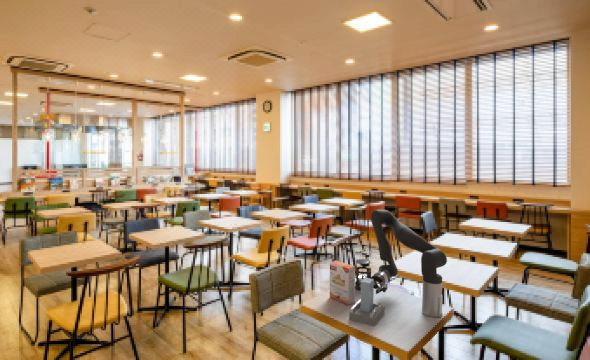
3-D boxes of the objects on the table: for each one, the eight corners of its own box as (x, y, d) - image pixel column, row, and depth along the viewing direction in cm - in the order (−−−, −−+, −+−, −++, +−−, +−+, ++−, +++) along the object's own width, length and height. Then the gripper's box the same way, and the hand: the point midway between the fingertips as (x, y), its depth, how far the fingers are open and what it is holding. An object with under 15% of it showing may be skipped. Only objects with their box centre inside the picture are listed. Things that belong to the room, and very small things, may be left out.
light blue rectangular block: (373, 307, 179) (373, 279, 177) (369, 312, 173) (369, 283, 172) (364, 305, 181) (365, 277, 179) (360, 310, 176) (360, 281, 174)
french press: (361, 292, 206) (362, 255, 204) (350, 287, 214) (350, 251, 212) (375, 288, 213) (376, 251, 210) (364, 283, 220) (364, 247, 218)
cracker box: (329, 297, 200) (329, 262, 198) (336, 294, 204) (336, 259, 202) (348, 305, 190) (348, 268, 188) (355, 302, 194) (355, 265, 192)
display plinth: (384, 313, 180) (384, 302, 180) (374, 326, 168) (374, 314, 167) (360, 307, 187) (360, 296, 187) (349, 319, 175) (349, 308, 174)
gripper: (366, 270, 194) (355, 280, 181) (391, 275, 187) (382, 286, 173) (366, 283, 195) (355, 294, 181) (391, 289, 187) (381, 300, 174)
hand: (368, 290), depth 177 cm, fingers open, 8 cm apart
